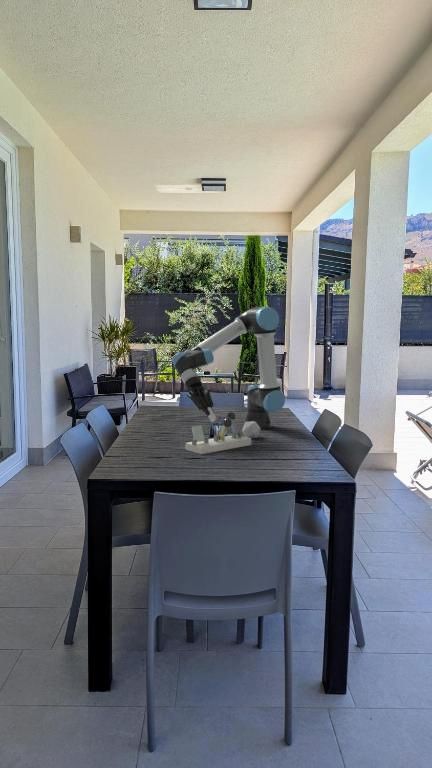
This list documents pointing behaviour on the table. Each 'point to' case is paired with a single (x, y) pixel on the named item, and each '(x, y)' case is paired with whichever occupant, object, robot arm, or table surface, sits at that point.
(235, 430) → the grey lever
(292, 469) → the table surface
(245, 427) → the die
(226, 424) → the brass lever
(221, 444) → the panel
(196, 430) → the sage paddle
